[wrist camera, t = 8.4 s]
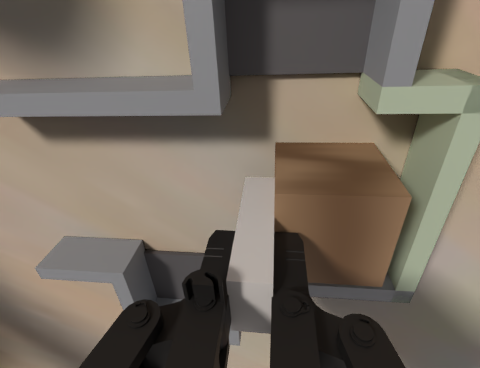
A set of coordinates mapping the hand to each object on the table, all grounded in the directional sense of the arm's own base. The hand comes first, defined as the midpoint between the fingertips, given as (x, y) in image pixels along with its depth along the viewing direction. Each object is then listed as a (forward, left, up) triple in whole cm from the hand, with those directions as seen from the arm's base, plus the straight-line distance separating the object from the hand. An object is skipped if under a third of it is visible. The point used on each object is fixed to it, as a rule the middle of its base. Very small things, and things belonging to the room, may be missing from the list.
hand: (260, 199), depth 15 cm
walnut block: (+3, 0, -2) cm, 4 cm away
